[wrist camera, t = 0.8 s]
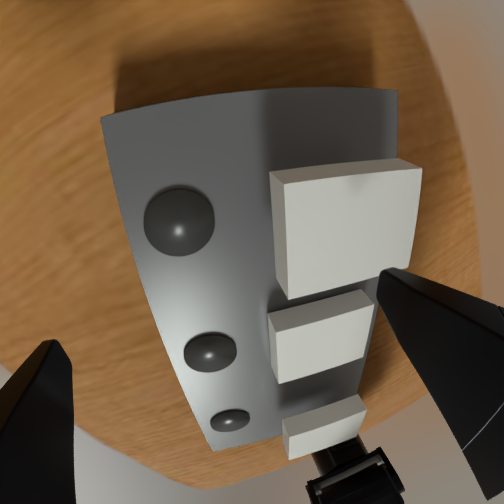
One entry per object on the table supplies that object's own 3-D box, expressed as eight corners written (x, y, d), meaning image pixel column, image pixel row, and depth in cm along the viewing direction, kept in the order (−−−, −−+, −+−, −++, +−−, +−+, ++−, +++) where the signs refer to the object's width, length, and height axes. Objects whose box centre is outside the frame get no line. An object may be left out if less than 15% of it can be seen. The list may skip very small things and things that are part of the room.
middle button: (354, 341, 19) (364, 356, 18) (271, 365, 19) (278, 384, 17) (362, 288, 17) (376, 303, 16) (267, 313, 16) (275, 332, 15)
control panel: (338, 388, 28) (352, 413, 25) (207, 424, 26) (212, 453, 23) (363, 87, 15) (399, 90, 12) (113, 112, 13) (99, 117, 10)
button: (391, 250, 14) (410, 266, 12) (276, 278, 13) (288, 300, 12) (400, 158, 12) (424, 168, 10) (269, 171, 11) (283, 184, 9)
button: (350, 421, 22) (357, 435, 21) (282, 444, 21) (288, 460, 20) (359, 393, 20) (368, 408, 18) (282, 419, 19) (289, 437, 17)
